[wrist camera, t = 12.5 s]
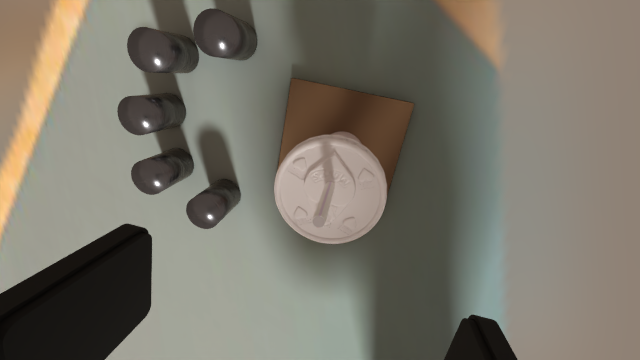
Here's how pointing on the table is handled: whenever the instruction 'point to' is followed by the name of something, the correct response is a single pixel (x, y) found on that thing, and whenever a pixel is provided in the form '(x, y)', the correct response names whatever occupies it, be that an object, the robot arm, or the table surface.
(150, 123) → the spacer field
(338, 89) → the walnut pad
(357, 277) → the table surface
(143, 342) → the table surface
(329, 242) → the smoothie
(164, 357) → the table surface
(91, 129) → the table surface
